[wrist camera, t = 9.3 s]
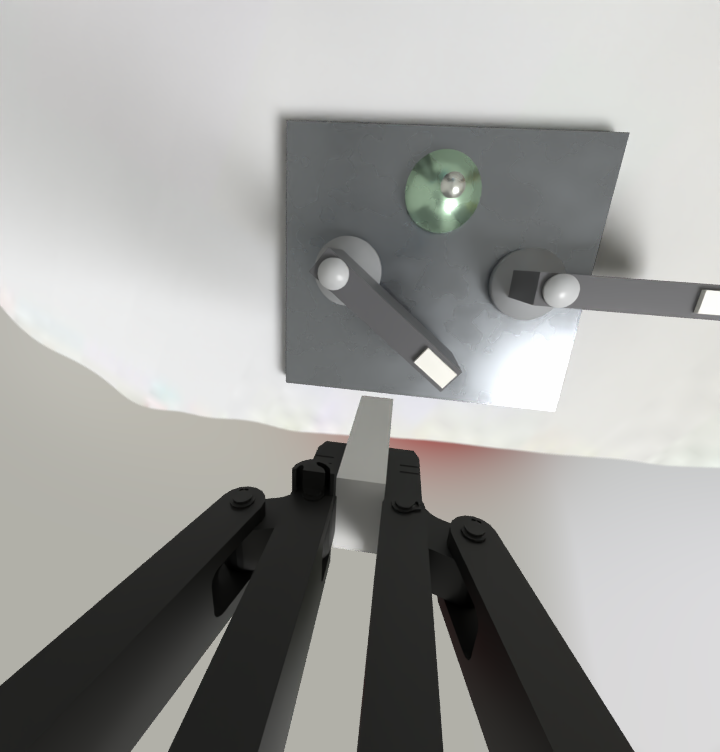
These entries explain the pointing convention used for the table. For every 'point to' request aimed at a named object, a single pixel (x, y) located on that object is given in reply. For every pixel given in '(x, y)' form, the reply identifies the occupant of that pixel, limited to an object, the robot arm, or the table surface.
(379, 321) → the grey lever handle
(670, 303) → the grey lever handle
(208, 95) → the table surface
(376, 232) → the plate
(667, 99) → the table surface
